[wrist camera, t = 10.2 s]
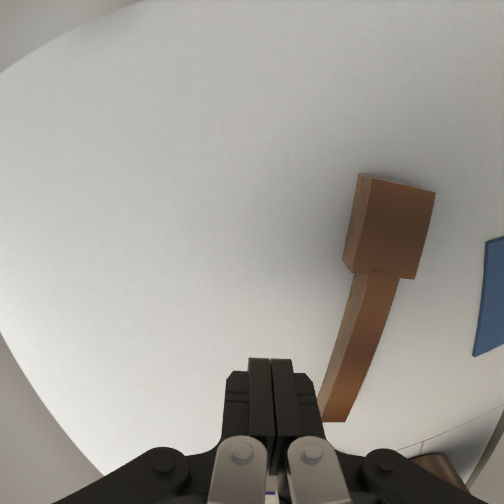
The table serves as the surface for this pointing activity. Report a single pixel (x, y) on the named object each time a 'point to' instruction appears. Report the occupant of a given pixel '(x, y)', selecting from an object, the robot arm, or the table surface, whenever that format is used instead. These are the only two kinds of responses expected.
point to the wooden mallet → (373, 280)
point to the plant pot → (441, 469)
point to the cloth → (491, 300)
